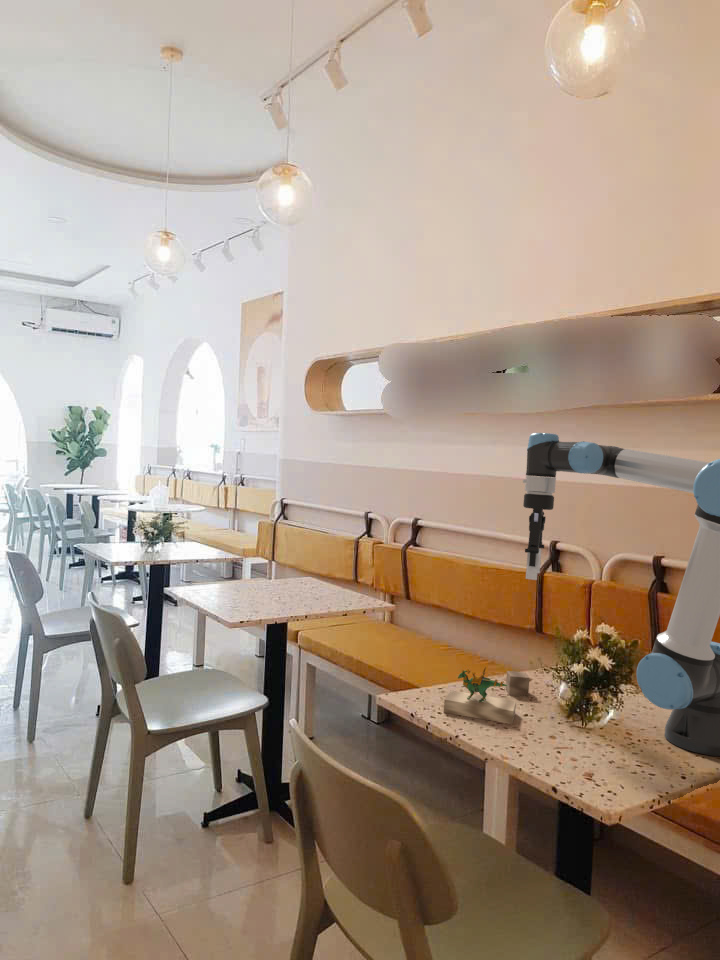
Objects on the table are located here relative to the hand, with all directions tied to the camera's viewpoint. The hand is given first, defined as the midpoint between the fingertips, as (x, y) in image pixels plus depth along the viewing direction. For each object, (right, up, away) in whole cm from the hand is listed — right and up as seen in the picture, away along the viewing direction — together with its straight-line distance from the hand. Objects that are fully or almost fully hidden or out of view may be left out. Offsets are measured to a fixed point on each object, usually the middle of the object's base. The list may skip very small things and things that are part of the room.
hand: (532, 576), depth 182 cm
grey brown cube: (-3, -32, +5) cm, 32 cm away
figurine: (-16, -28, -13) cm, 35 cm away
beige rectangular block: (-16, -31, -13) cm, 37 cm away
